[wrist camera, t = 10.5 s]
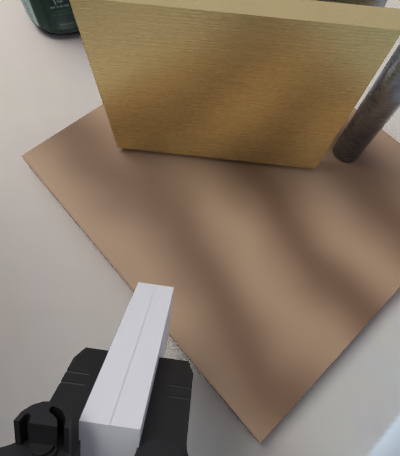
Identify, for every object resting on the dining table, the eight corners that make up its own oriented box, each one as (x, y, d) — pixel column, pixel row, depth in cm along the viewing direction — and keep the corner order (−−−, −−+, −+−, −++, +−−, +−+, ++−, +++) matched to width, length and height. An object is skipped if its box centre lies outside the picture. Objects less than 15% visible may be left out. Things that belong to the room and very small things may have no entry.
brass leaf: (315, 153, 23) (399, 9, 14) (315, 168, 23) (402, 30, 13) (120, 132, 23) (75, -24, 14) (117, 147, 23) (67, -4, 13)
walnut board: (256, 438, 18) (260, 443, 17) (29, 165, 24) (21, 156, 23) (462, 210, 24) (475, 202, 22) (236, 31, 29) (238, 18, 28)
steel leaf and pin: (353, 139, 26) (511, -82, 13) (350, 174, 24) (521, -30, 12) (141, 95, 26) (98, -149, 14) (129, 128, 25) (69, -107, 13)
